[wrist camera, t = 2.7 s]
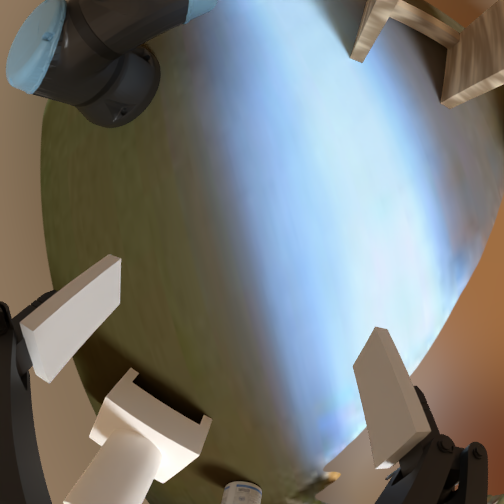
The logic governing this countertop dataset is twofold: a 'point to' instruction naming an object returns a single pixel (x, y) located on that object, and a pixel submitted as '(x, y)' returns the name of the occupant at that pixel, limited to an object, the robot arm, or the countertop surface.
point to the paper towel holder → (136, 446)
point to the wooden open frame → (458, 46)
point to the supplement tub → (241, 493)
